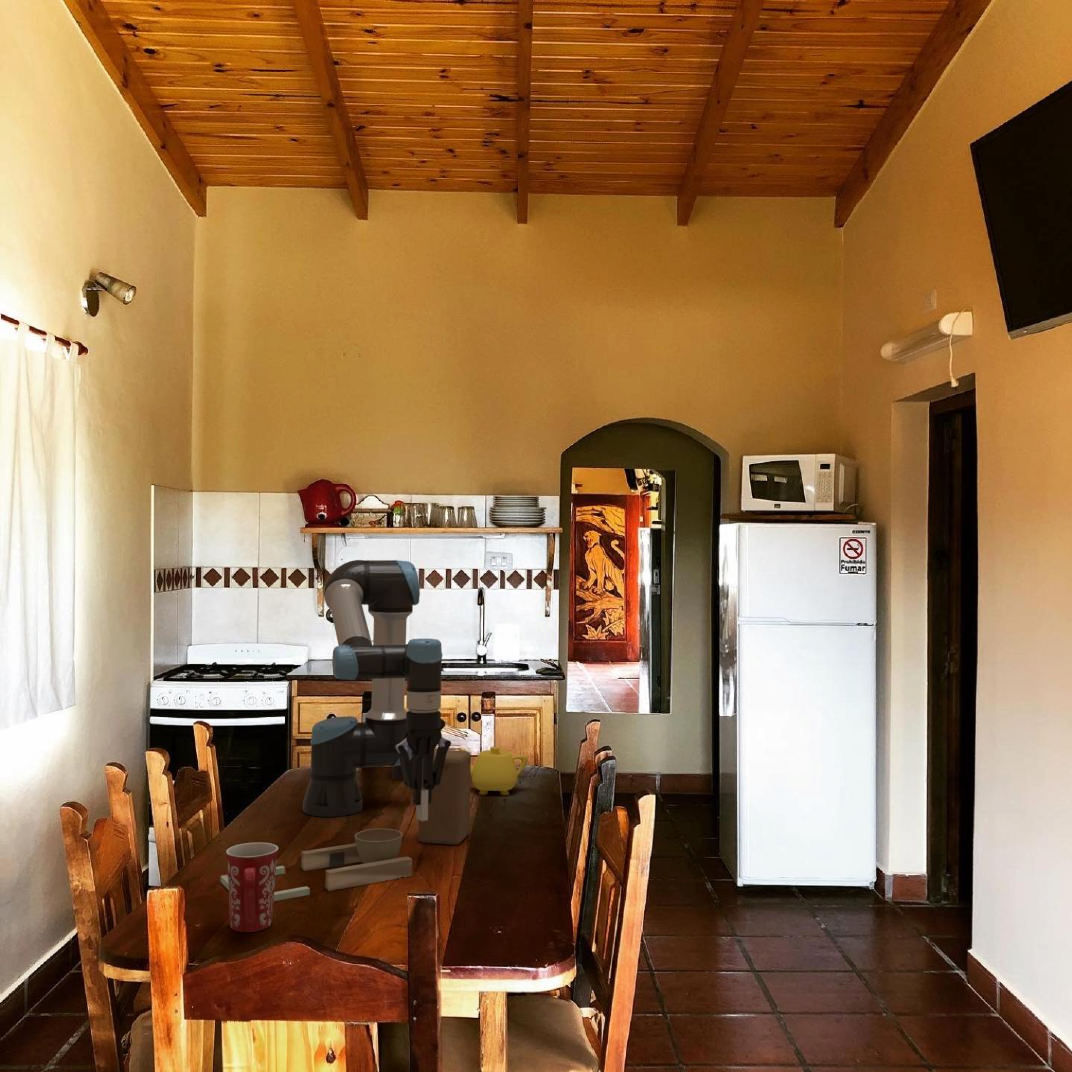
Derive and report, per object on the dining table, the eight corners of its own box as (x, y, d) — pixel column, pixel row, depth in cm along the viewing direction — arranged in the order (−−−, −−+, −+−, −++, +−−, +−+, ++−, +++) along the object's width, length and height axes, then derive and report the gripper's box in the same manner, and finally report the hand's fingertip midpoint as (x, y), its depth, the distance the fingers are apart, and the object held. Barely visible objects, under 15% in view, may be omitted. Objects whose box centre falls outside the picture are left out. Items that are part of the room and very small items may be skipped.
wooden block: (458, 846, 223) (460, 758, 223) (416, 843, 225) (418, 756, 225) (470, 834, 233) (471, 750, 233) (430, 831, 235) (431, 747, 235)
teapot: (458, 784, 282) (459, 741, 283) (527, 786, 282) (528, 743, 282) (454, 796, 269) (454, 751, 269) (526, 797, 269) (527, 752, 269)
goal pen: (220, 881, 197) (220, 875, 197) (282, 871, 204) (282, 865, 204) (244, 906, 183) (244, 900, 183) (309, 894, 190) (309, 888, 190)
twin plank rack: (301, 868, 206) (301, 851, 206) (380, 855, 216) (380, 839, 216) (329, 891, 193) (329, 873, 193) (411, 875, 202) (412, 858, 202)
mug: (227, 916, 178) (229, 842, 179) (278, 914, 180) (280, 840, 180) (218, 944, 166) (219, 864, 166) (273, 941, 168) (274, 862, 168)
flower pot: (410, 864, 210) (410, 830, 210) (388, 878, 201) (388, 843, 201) (368, 858, 213) (369, 825, 213) (345, 872, 204) (346, 838, 204)
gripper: (403, 714, 206) (401, 827, 205) (458, 710, 213) (456, 819, 213) (388, 710, 213) (387, 819, 212) (442, 705, 220) (440, 811, 219)
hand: (421, 819), depth 212 cm, fingers closed
